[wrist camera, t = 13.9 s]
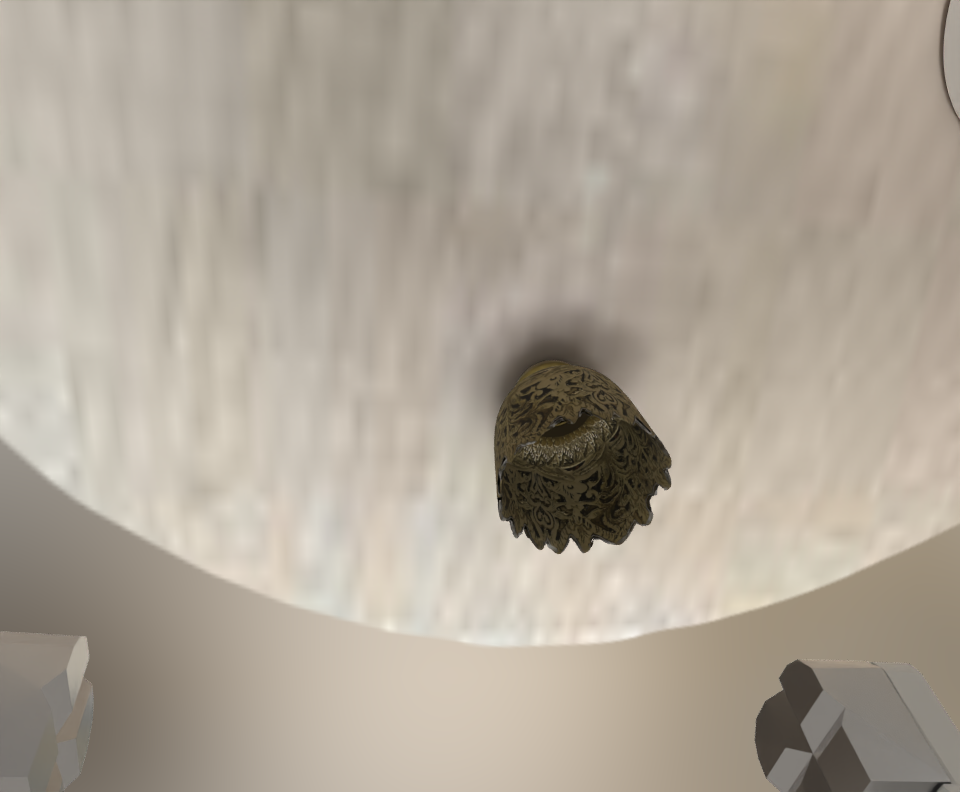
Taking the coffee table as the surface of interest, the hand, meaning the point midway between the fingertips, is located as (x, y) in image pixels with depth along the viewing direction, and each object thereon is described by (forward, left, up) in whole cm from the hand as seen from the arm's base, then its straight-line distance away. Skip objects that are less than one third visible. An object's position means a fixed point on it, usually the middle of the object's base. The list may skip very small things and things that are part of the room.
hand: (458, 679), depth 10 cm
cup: (-11, +13, -28) cm, 32 cm away
